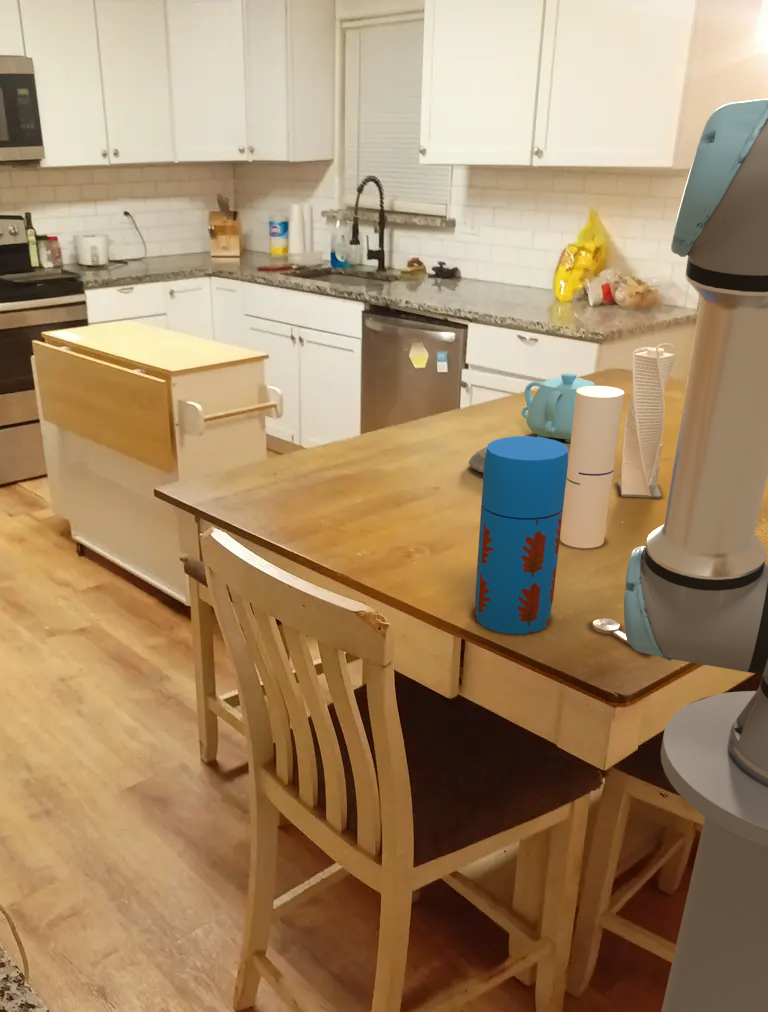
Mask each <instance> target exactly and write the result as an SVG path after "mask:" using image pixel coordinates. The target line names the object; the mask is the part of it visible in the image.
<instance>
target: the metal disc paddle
mask: <svg viewBox="0 0 768 1012" xmlns="http://www.w3.org/2000/svg"><path fill="white" fill-rule="evenodd" d="M620 628H621V624H620V623H619V622H618V621H616V620H614V619H611V618H597V619H595V620H594V621H593V622H592V629H593V630H594V631H596V632H597V633H600V634H604V635H612V636H614V637H615V638H617V639H618V640H620V641H622V642H623V643H625V644H627V645H628V646H630V647H632V646H631V645H630V644H629V643H628V641H627V638H626V634H625V632H623V631H621V630H620ZM643 655H646V654H645V653H643Z"/></svg>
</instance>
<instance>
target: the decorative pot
mask: <svg viewBox="0 0 768 1012" xmlns="http://www.w3.org/2000/svg"><path fill="white" fill-rule="evenodd" d="M587 386H596V384H595V382H593V381H591V380H587V379H584V378H581V377H577V373H575V372H563V373H561V374H560V377H552V378H549V379H547V380H545V381H541V380H535V381H531V382H530V383H528V384H527V385H526V387H525V389H524V398H525V403H526V406H524V407H523V408H522V410H521V416H522V417H523V418H524V419H526V425H527V426H528V429H529V430H530V432H531V433H533V434H535V435H537V436H536V437H542V438H547V439H550V438H553V439H562V440H564V441H565V442H566V443H570V444H571V435H572V426H573V417H574V409H575V400H576V391H577V389H579V388H581V387H587ZM533 387H538V389H537V390H536V392H535V394H534V395H533V398H532V395H531V389H532V388H533Z"/></svg>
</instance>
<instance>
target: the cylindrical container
mask: <svg viewBox="0 0 768 1012" xmlns="http://www.w3.org/2000/svg"><path fill="white" fill-rule="evenodd" d="M624 398H625V391H624V390H622V389H621V388H618V387H615V386H607V385H595V386H587V387H581V388H579V389H577V391H576V400H575V409H574V417H573V426H572V435H571V443H570V446H569V452H568V470H567V479H566V488H565V497H564V506H563V514H562V523H561V532H560V542H561V543H562V544H564V545H566V546H568V547H572V548H578V549H595V548H598V547H600V546H602V545H604V542H605V536H606V528H607V523H608V522H607V521H608V514H609V508H610V507H609V506H610V499H611V494H612V493H611V492H612V485H613V479H614V477H613V476H614V470H615V464H616V456H617V455H616V454H617V450H618V449H617V447H618V441H619V433H620V426H621V418H622V412H623V405H624Z"/></svg>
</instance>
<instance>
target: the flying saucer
mask: <svg viewBox="0 0 768 1012" xmlns="http://www.w3.org/2000/svg"><path fill="white" fill-rule="evenodd" d="M486 450H487V446H486V447H485V446H484V447H483V448H480V449H479V450H477V451H476V452H475V453H474V454H473V455H472V456H471V457H470V459H469V460H468V465H469V466H470V468H472V469H473V470H475V471H477V472H479V473H482V474H483V473H484V460H485V455H486Z"/></svg>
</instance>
